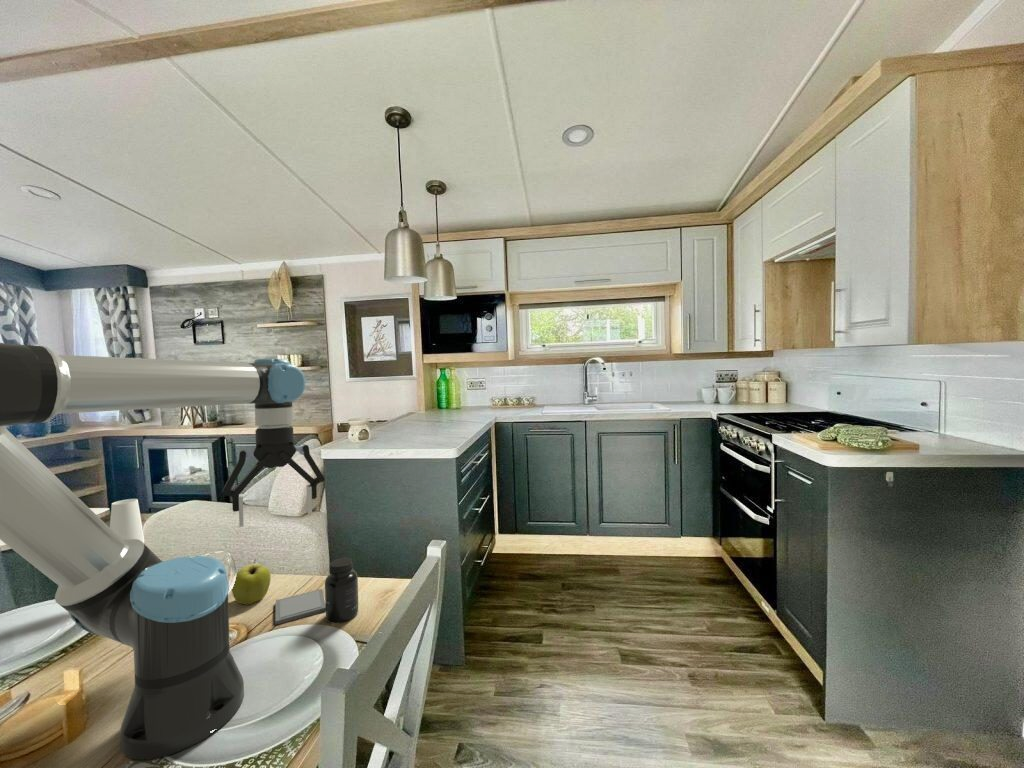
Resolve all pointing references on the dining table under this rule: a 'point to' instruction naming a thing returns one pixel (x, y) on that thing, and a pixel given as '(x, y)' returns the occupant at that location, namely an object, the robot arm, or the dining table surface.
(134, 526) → the champagne flute
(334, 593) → the supplement bottle
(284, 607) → the slate coaster
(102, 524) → the robot arm
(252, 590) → the apple
